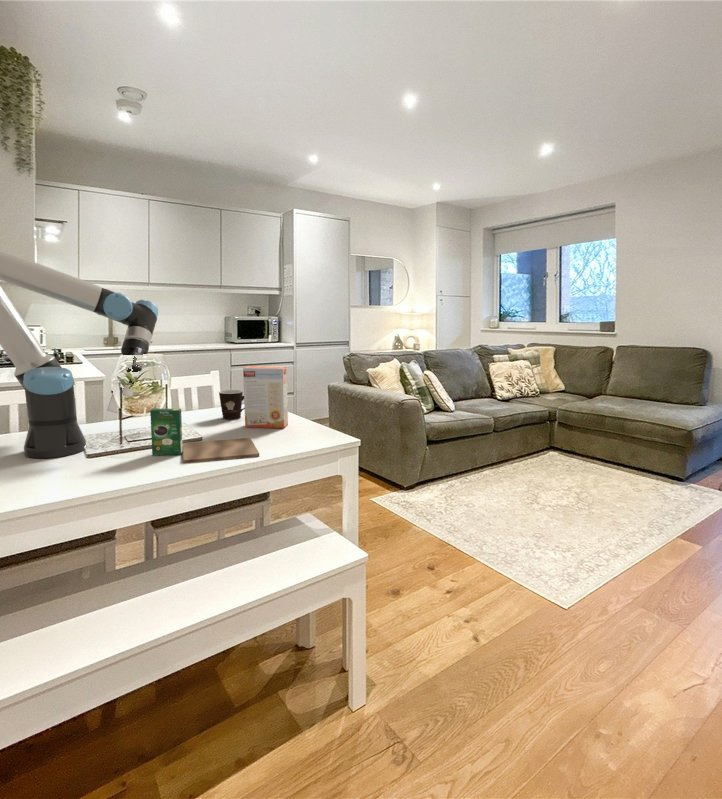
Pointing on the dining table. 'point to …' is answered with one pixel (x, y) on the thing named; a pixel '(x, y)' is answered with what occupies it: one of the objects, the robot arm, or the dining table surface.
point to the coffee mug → (231, 404)
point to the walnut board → (219, 450)
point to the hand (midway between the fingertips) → (119, 403)
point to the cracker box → (265, 396)
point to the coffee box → (166, 431)
